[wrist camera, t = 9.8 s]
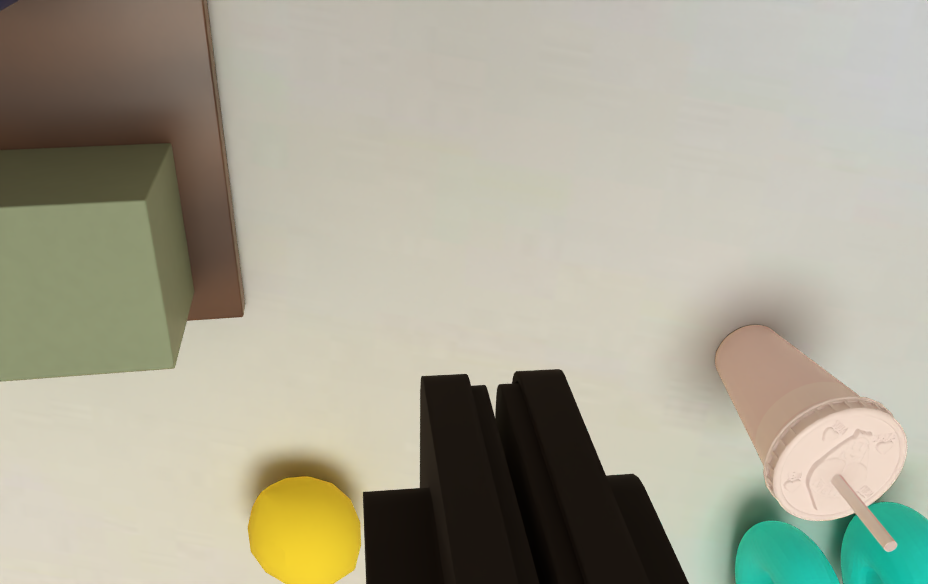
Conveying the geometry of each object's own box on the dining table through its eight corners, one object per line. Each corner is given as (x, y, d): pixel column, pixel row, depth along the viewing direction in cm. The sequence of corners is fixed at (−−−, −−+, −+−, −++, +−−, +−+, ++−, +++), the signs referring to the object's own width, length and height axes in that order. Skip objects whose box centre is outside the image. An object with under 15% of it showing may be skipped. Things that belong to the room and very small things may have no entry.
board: (-317, -242, 30) (-341, -244, 28) (177, -235, 32) (173, -237, 31) (-119, 329, 40) (-130, 343, 39) (245, 305, 42) (243, 317, 41)
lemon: (224, 488, 47) (214, 562, 42) (303, 431, 46) (301, 501, 41) (312, 559, 50) (312, 636, 45) (387, 507, 49) (395, 580, 44)
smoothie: (671, 390, 48) (793, 583, 36) (723, 289, 46) (874, 459, 33) (769, 413, 50) (918, 603, 38) (825, 317, 47) (1004, 487, 35)
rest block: (-142, 155, 35) (-230, 218, 29) (171, 142, 37) (145, 200, 31) (-91, 310, 38) (-162, 394, 33) (194, 292, 40) (174, 369, 34)
